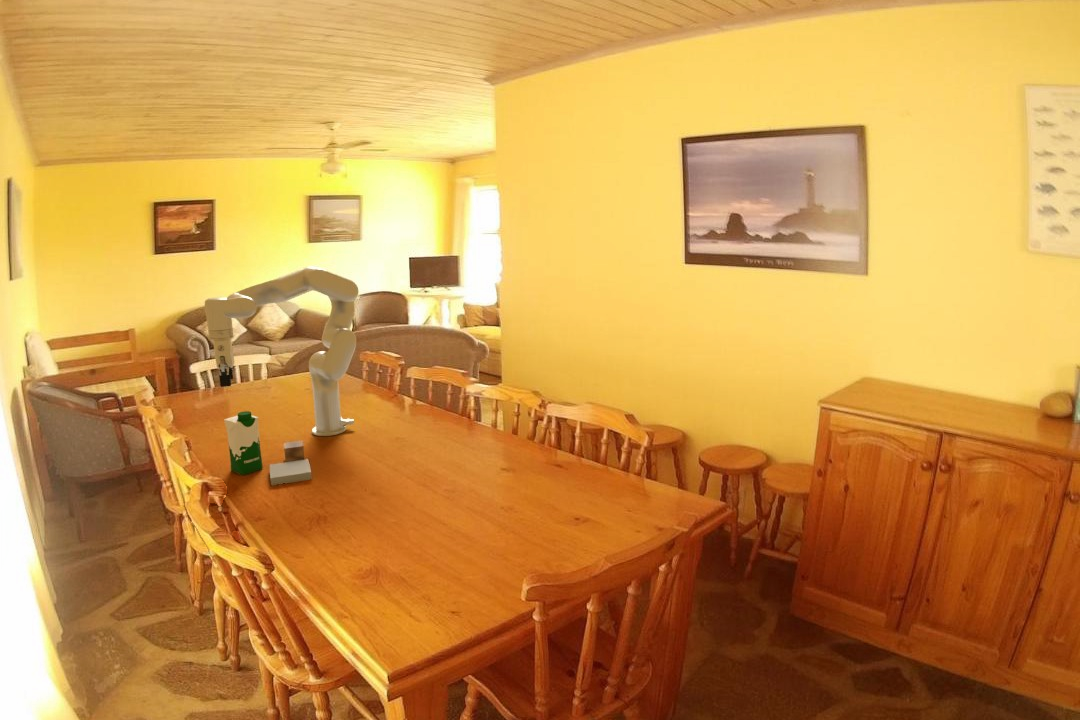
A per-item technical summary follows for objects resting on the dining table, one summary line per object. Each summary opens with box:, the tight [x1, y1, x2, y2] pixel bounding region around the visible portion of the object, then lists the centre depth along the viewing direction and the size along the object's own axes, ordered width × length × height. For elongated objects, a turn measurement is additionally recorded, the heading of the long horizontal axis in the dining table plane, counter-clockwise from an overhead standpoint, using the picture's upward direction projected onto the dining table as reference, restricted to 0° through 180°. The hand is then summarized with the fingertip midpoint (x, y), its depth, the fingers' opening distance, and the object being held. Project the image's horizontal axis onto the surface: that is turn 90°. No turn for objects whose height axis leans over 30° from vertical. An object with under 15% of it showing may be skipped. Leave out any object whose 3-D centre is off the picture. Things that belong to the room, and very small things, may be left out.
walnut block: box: [283, 440, 305, 462], centre depth 217 cm, size 6×6×6 cm
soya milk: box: [223, 410, 264, 476], centre depth 208 cm, size 9×9×20 cm
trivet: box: [269, 458, 313, 486], centre depth 205 cm, size 12×12×2 cm
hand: (227, 382), depth 219 cm, fingers open, 9 cm apart
